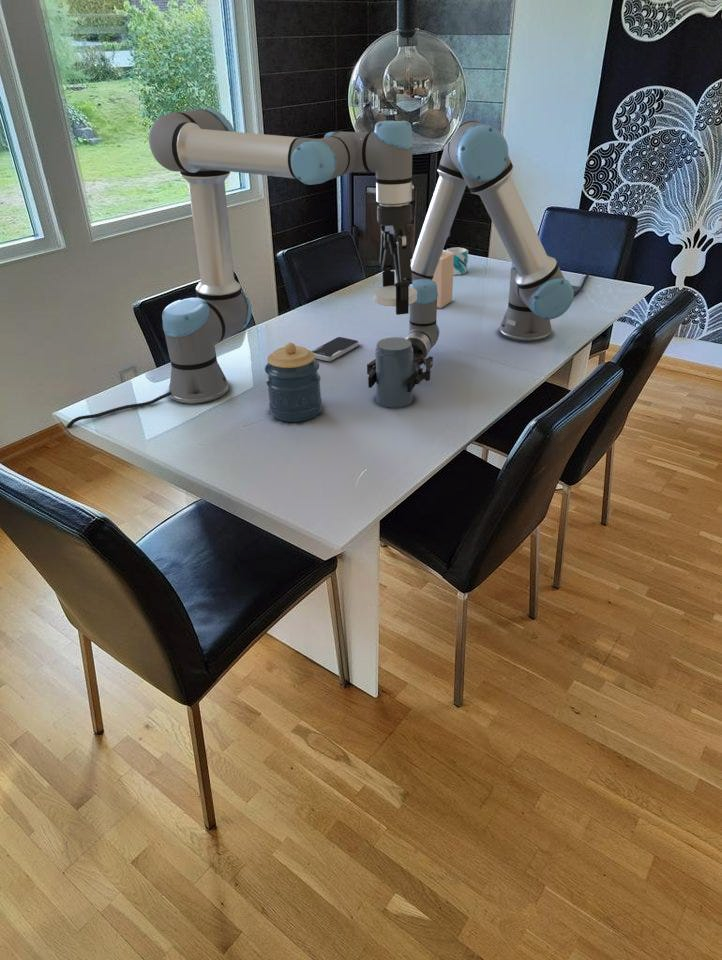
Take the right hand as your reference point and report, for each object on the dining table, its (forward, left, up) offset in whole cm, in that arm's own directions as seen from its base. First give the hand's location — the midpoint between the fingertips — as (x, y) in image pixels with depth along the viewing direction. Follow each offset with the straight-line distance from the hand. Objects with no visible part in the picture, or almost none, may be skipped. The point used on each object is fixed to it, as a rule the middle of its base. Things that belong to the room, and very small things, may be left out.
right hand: (389, 384), depth 163 cm
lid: (-2, 0, +22) cm, 22 cm away
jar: (-4, -2, -6) cm, 8 cm away
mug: (-106, -59, -6) cm, 121 cm away
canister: (+17, -16, -6) cm, 24 cm away
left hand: (-2, 0, +19) cm, 19 cm away
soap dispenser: (-71, -41, -6) cm, 83 cm away
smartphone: (-17, -37, -6) cm, 41 cm away
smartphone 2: (-107, -16, -6) cm, 108 cm away
